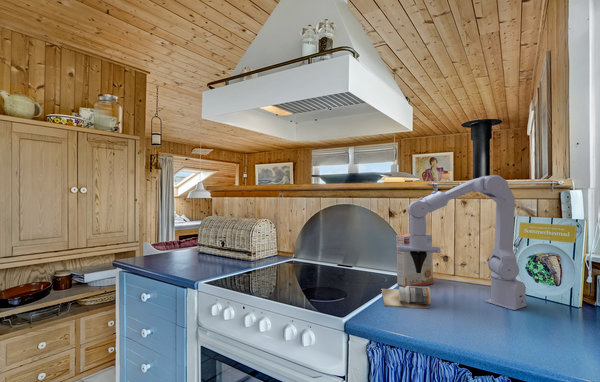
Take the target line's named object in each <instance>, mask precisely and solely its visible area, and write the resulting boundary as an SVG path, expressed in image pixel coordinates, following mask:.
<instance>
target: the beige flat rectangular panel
mask: <svg viewBox="0 0 600 382" xmlns="http://www.w3.org/2000/svg"><path fill="white" fill-rule="evenodd" d="M380 290H382V291H381V295H382V301H383V306H384V307H391V308H392V307H394V308H411V309H429V305H428V304H414V303H407V302H406V301H400V300H399V288H398V289H397V288H381V289H380Z"/></svg>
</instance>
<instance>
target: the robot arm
mask: <svg viewBox="0 0 600 382" xmlns="http://www.w3.org/2000/svg"><path fill="white" fill-rule="evenodd" d="M471 192H479V193H480V194H483V195H485V196H487V197H489V198H490V199H491V200H492V201H494V203H496V205H495V227H494V228H495V229H494V247H493V249H492V250H491V253H490V254H491V256H490V257H489V259H488V261H487V266H488V268H489V270H490V271H491V273H490V298H489V299H485V303H489V304H493V305H496V306H499V307H503V308H506V309H509V310H512V311H515V310H519V309H522V308H525V307H527V306H528V304H526V303H527V302H526V299H527V298H526V294H527V293H526V291H527V289H526V285H525V283H524V282H523V281H520V280H518V279H517V277H519V274H520V267H519V265H518V263H517V256H516V254H515V252H514V249H513V248H514V230H515V229H514V228H515V208H516V207H515V206H516V198H515V195H514V194H513V192H512V189H511V188H510V187H509V181H508V180H507V179H505V178H503V176H501V175H498V174H492V175H482V176H479V177H477V178H473V179H470V180H466V181H465V182H463V183H461V184H459V185H457V186H455V187H453V188H451V189H449V190H447V191H444V192H443V191H440V190H438V191H436V190H433V191H432V192H431V194H428V195H427V196H424V197H422V196H421V197H419V198H418V200H414V201H412V202H410V204H409V205H408V208H407V212H408V214H409V223H408V225H409V226H408V229H409V233H408V234H410V246H397V251H396V253H397V252H410V254H411V257H412V259H413V261H414V264H415V268H416V273H421V270H422V266H423V263H424V261H425V259H426V257H427V254H426V253H432V254H433V253H435V254H441V247H440V246H433V245H432V246H427V237H426V233H427V215H428V214H431V213H433V212H435V211H437V210H439V209H442V208H444V207H446V206H448V203H449V202H450V201H451V200H453V199H456V198H458V197H461V196H464V195H467V194H469V193H471ZM413 250H417V251H413ZM417 252H418V253H417Z"/></svg>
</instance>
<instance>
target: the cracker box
mask: <svg viewBox="0 0 600 382" xmlns="http://www.w3.org/2000/svg"><path fill="white" fill-rule="evenodd" d="M426 237H427V246H432V247H433V234H431V233H427V232H426ZM395 243H396V244H395V245H396V249H395V250H396V281H397V283H396V284H397V285H398V286H400V287H403V288H405V287H406V286H425V285H434V263H433V261H434V260H433V253H426V254H427V257H426V259H425V261H424V263H423V266H422V270H421V273H416V268H415V264H414V261H413V259H412V257H411V254H410V252H397V246H410V233H402V234H396V235H395ZM413 251H417V250H413ZM417 253H418V252H417Z"/></svg>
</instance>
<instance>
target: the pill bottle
mask: <svg viewBox="0 0 600 382" xmlns="http://www.w3.org/2000/svg"><path fill="white" fill-rule="evenodd" d="M398 289H399V300H400V301H406V302H407V303H414V304H427V305H430V304H431V303H432V293H431V288H430V287H429V286H424V285H421V286H406V287H403V286H398Z"/></svg>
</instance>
